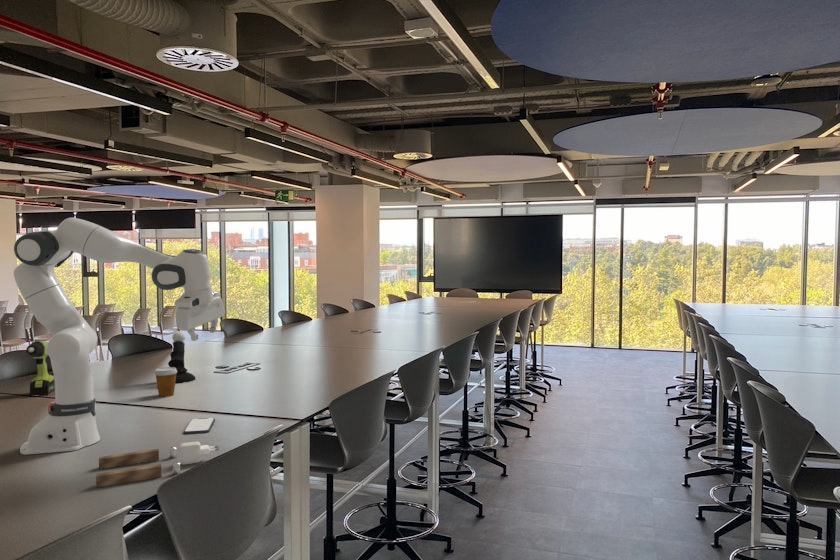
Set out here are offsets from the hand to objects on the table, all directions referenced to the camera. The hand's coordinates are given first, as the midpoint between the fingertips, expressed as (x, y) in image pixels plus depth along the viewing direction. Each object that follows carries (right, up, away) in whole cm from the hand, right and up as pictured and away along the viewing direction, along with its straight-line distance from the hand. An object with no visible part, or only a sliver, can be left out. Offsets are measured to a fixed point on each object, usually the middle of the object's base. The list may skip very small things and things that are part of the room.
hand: (204, 336), depth 195 cm
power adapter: (+7, -36, -22) cm, 43 cm away
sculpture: (-48, -33, +91) cm, 108 cm away
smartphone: (-7, -35, +14) cm, 39 cm away
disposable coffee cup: (-41, -33, +63) cm, 83 cm away
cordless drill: (-99, -34, +63) cm, 122 cm away
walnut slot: (-10, -36, -31) cm, 48 cm away
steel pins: (+1, -36, -25) cm, 44 cm away
